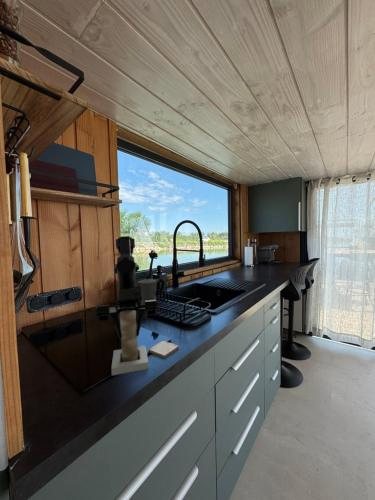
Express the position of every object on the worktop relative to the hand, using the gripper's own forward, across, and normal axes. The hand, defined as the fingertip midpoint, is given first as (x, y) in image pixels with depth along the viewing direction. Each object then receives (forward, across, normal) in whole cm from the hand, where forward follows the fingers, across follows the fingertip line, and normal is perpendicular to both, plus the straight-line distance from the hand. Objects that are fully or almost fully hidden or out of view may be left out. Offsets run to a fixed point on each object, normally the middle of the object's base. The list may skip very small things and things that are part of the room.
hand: (128, 336), depth 65 cm
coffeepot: (-27, +11, +39) cm, 49 cm away
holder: (+5, 0, +7) cm, 9 cm away
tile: (+2, +11, +10) cm, 15 cm away
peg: (+5, 0, +7) cm, 9 cm away
